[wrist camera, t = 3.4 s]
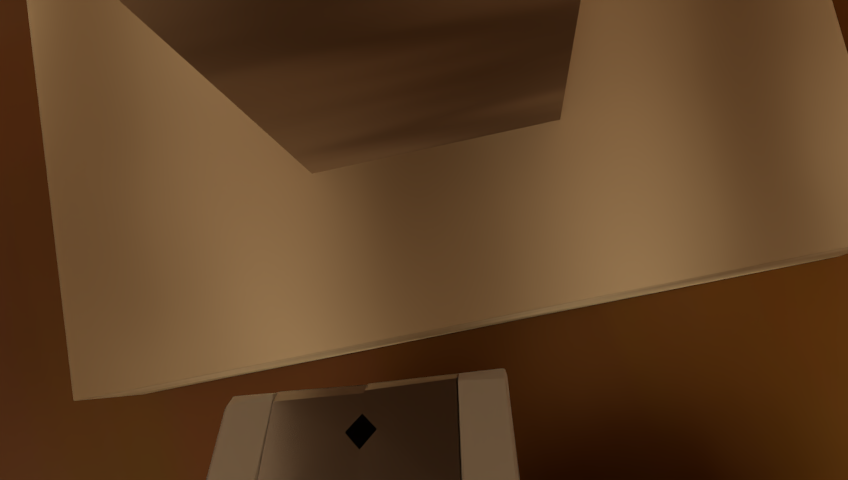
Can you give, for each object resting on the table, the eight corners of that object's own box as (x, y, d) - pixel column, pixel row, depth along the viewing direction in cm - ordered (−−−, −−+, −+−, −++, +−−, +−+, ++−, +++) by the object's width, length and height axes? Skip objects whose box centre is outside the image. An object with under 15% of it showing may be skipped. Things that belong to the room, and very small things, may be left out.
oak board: (723, -152, 19) (760, -244, 16) (837, 256, 18) (900, 236, 15) (90, 1, 21) (19, -58, 18) (142, 394, 19) (73, 401, 16)
